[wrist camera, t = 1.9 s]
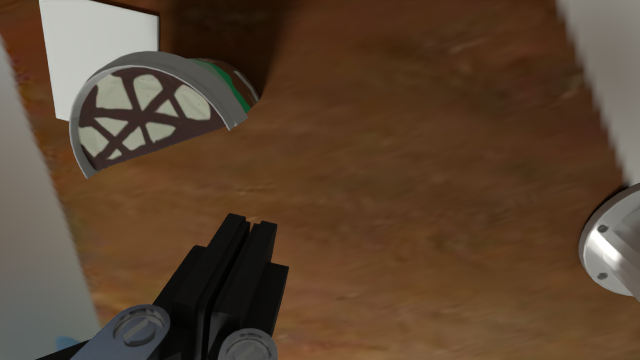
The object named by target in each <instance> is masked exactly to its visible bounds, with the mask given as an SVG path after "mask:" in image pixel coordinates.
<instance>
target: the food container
mask: <svg viewBox="0 0 640 360" xmlns="http://www.w3.org/2000/svg"><path fill="white" fill-rule="evenodd" d="M260 99H261V98H260V97H259V95H258V93H257V91H256V89H255V87H254V85H253V84H252V83H251V82H250V81H249V80H248V79H247V78H246V76H245V75H244V74H243V73H242V72H241V71H239V70H238V69H236V68H235V67H233V66H231V65H230V64H228V63H227V62H224V61H221V60H217V59H213V58H209V57H205V58H190V59H185V58H183V57H180V56H178V55H174V54H170V53H165V52H158V51H142V52H133V53H130V54H127V55H124V56H121V57H119V58H117V59H115V60H114V61H112V62H110V63H109V64H107V65H105V66H104V67H102V68H100V69H99V70H97V71H96V72H95V73H94V74H93V75H92V76H91V77H89V78H88V79H87V81H86V82H85V84H84V85H83V87H82V88H81V89H80V91H79V92H78V94H77V95H76V98H75V100H74V102H73V105H72V108H71V113H70V118H69V133H70V140H71V145H72V148H73V152H74V155H75V158H76V160H77V162H78V164H79V167H80V169H81V170H82V172H83V174H84V175H85V177H86V179H87V178H89V177H90V176H92V175H94V174H96V173H98V172H99V171H101V170H103V169H105V168H107V167H109V166H112V165H114V164H117V163H120V162H123V161H126V160H129V159H132V158H135V157H138V156H141V155H145V154H148V153H151V152H154V151H157V150H160V149H163V148H166V147H168V146H171V145H174V144H176V143H179V142H182V141H185V140H188V139H191V138H194V137H197V136H200V135H203V134H205V133H208V132H211V131H214V130H217V129H220V128H223V127H225V126H227V128H228V130H230V129H232V128H233V127H234V126H237V125H239V124H240V123H242V122H243V121H244V120H246V119H247V118H248V117H247V115H246V113H247V112H248V111H249V110H250V109H251V108H252V107H253V106H254V105H255V104H256V103H257V102H258V101H259V100H260Z"/></svg>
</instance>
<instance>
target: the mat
mask: <svg viewBox="0 0 640 360" xmlns="http://www.w3.org/2000/svg"><path fill="white" fill-rule="evenodd" d="M39 4H40V11H41V17H42V24H43V31H44V37H45V44H46V51H47V58H48V64H49V71H50V78H51V85H52V91H53V98H54V105H55V111H56V118H59V119H63V120H67V121H69V118H70V113H71V108H72V105H73V102H74V100H75V98H76V95H77V94H78V92H79V91H80V89H81V88H82V87H83V85H84V84H85V82H86V81H87V79H88V78H89V77H91V76H92V75H93V74H94V73H95V72H96V71H97V70H99V69H100V68H102V67H104V66H105V65H107V64H109V63H110V62H112V61H114V60H115V59H117V58H119V57H121V56H124V55H127V54H130V53H133V52H142V51H158V52H159V17H158V16H154V15H150V14H146V13H142V12H137V11H133V10H129V9H125V8H121V7H116V6H112V5H108V4H104V3H100V2H95V1H91V0H39Z"/></svg>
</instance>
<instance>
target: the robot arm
mask: <svg viewBox="0 0 640 360" xmlns="http://www.w3.org/2000/svg"><path fill="white" fill-rule="evenodd" d="M276 231H277V224H275V223H270V222H266V221H261V223H260V224H256V223H255V224H254V225H253V227H252V229H251V231H250V222H247V221H246V217H245V216H240V215H236V214H232V213H229V214H228V215H227V217H226V218H225V220H224V222H223V223H222V225H221V226H220V228H219V229H218V231H217V232H216V234H215V235H214V237H213V238H212V240H211V242H210V243H209V245H208V246H207V247H202V246H198V245H195V246H194V247H193V248H192V249H191V250H190V252H189V253H188V255H187V256H186V257H185V259H184V260H183V262H182V263H181V265H180V266H179V267H178V269H177V270H176V272H175V273H174V274H173V276H172V277H171V279H170V280H169V281H168V283H167V284H166V286H165V287H164V288H163V290H162V291H161V293H160V294H159V296H158V297H157V298H156V300H155V301H154V303H153V304H140V305H136V306H132V307H129V308H127V309H125V310H123V311H121V312H120V313H119V314H117V315H116V316H115V317H113V318H112V319H111V320H110V321H109V322H108V323H107V324H106V325H105V326H104V327H103V328H102V329H101V330H100V331H99V332H98V333H97V334H96V335H95V336H94V337H93V338H92V339H90V340H87V341H84V342H82V343H79V344H76V345H74V346H71V347H68V348H66V349H63V350H60V351H57V352H55V353H52V354H50V355H47V356H44V357H41V358H39V359H36V360H277V358H278V353H277V346H276V344H275V342H274V340H273V339H272V335H273V331H274V327H275V324H276V320H277V316H278V312H279V309H280V305H281V301H282V297H283V293H284V289H285V284H286V280H287V275H288V270H289V267H288V266H283V265H279V264H275V263H271V258H272V253H273V247H274V242H275V236H276ZM249 232H250V233H249ZM579 257H580V261H581V264H582V266H583V267H584V269H585V270H586V272H587V273H588V274H589V275H590V276H591V278H592V279H593V280H594V281H595V282H597V283H598V284H599V285H601V286H602V287H604V288H606V289H608V290H610V291H613V292H615V293H619V294H623V295H628V296H634V297H635V298H636V299H637V300H638V301H639V302H640V183H638V184H636V185H633V186H631V187H629V188H627V189H626V190H624V191H622V192H620V193H618V194H617V195H615V196H614V197H612V198H611V199H610V200H608V201H607V202H605V203H604V204H603V205H602V206H601V207H600V208H599V209H598V210H597V211H596V212H595V213H594V214H593V216H592V217H591V218H590V220H589V221H588V222H587V224H586V226H585V228H584V230H583V232H582V234H581V237H580V241H579Z"/></svg>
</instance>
